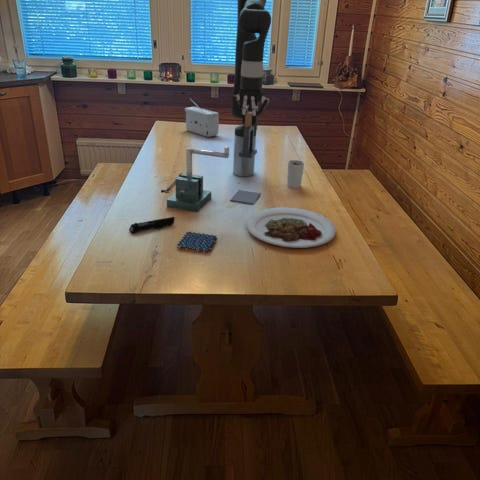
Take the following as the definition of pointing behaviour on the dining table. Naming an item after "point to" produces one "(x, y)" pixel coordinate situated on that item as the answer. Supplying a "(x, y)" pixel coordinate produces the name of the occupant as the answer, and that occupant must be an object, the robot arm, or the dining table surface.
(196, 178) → the vise
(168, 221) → the electric trimmer
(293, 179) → the grey cup
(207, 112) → the stereo radio cassette player
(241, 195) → the slate pad
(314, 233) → the plated food
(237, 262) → the dining table surface
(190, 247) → the woven mat
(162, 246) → the dining table surface
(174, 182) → the tomahawk
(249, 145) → the brown and black post
